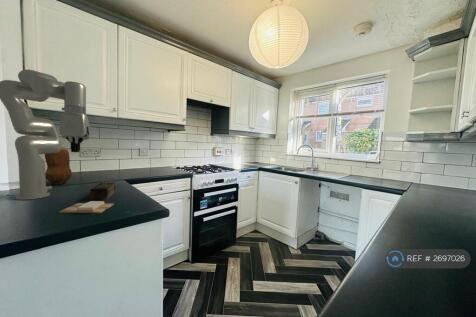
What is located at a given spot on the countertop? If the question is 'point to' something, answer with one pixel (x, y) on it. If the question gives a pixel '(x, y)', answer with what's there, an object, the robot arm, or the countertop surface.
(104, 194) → the beverage carton
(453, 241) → the countertop surface
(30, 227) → the countertop surface
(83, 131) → the robot arm
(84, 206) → the slab
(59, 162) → the butternut squash
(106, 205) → the mat
